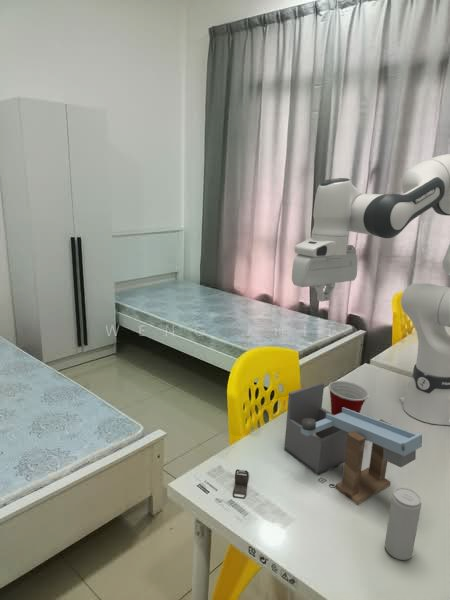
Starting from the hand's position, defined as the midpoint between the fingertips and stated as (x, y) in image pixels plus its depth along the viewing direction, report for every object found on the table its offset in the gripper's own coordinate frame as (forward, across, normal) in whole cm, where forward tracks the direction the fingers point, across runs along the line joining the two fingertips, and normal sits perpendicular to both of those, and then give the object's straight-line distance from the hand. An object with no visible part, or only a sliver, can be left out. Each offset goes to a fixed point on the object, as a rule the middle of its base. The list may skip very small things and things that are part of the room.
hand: (323, 300), depth 108 cm
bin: (+37, +7, +9) cm, 39 cm away
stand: (+37, +7, +23) cm, 44 cm away
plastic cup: (+37, -9, +4) cm, 39 cm away
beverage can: (+37, +16, +38) cm, 56 cm away
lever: (+27, +11, +23) cm, 37 cm away
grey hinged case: (+38, +30, +8) cm, 49 cm away
